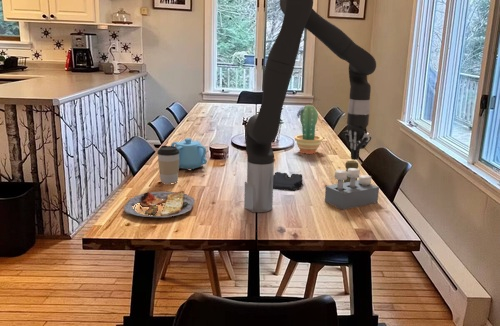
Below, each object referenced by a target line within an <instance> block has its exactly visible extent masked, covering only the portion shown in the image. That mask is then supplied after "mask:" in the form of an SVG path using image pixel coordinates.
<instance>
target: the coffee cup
mask: <svg viewBox="0 0 500 326" xmlns="http://www.w3.org/2000/svg"><path fill="white" fill-rule="evenodd" d="M179 153H180V152H179V150H178V149H177V148H176V147H175V145H174V146H171V145H161V147H159V149H158V150H157V158H158V159H157V162H158V170H159V171H158V173H159V176H160V178H159V179H160V183H161V182H162V183H165V184H164V185H166V184H170V185H172V184H171V183H175V182H177V181H179V180H178V179H179V172H180V171H179V169H180V168H179ZM162 183H161V184H162ZM177 183H178V182H177ZM175 184H176V183H175Z"/></svg>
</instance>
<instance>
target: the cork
mask: <svg viewBox="0 0 500 326" xmlns="http://www.w3.org/2000/svg"><path fill="white" fill-rule="evenodd" d="M344 166H345V171H347V172H348V169H349V168H356V169H359V162H357V161H356V160H347V161H346V162H345V165H344ZM357 180H358V178H356V181H357ZM346 182H350V177H348V176H347V179H346V180H343V183H346Z"/></svg>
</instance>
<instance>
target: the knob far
mask: <svg viewBox="0 0 500 326" xmlns="http://www.w3.org/2000/svg"><path fill="white" fill-rule="evenodd" d="M358 180H359V184H362V186H367V185H370V184H371V183H372V176H371V175H368V174H367V175H366V174H361V175H360V176H359V178H358Z"/></svg>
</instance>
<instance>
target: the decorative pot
mask: <svg viewBox="0 0 500 326" xmlns="http://www.w3.org/2000/svg"><path fill="white" fill-rule="evenodd" d="M170 146H174V147H176V148H177V149H178V150H179V152H180V153H179V169H183V170H184V169H186V170H188V169H193V170H194V169H197V168H200V166H201V167H202V166H204V165H205V164H207V163H208V160H207V157H206V155H207V148H206V147H205V146H204V145H202V143H201V142H200V141H199V140H192V138H191V137H190V138H189V137H187V138H186V137H185V138H184V140H181V141H173V142H172V143H171V145H170Z"/></svg>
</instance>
